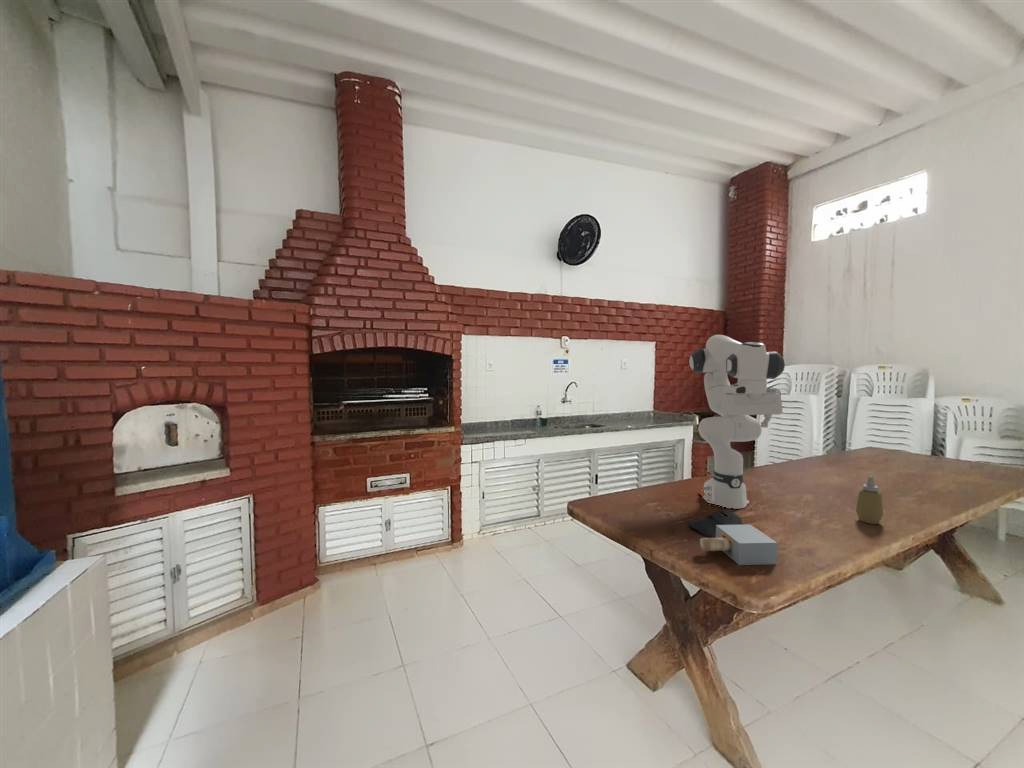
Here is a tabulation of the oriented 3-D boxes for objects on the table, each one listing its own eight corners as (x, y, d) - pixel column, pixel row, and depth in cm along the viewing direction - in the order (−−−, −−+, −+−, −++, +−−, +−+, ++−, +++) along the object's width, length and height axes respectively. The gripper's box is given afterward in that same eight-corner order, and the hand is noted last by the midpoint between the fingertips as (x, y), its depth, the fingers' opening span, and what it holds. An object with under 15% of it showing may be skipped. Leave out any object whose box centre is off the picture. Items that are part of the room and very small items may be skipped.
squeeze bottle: (850, 519, 162) (852, 475, 161) (862, 516, 165) (864, 472, 164) (875, 527, 154) (877, 480, 153) (887, 523, 157) (889, 478, 156)
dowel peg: (699, 547, 136) (700, 535, 136) (735, 546, 136) (735, 535, 136) (705, 553, 132) (706, 541, 132) (742, 552, 132) (742, 540, 132)
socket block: (715, 544, 141) (716, 525, 141) (749, 543, 142) (750, 524, 141) (738, 564, 127) (739, 543, 127) (776, 564, 128) (777, 542, 127)
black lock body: (679, 526, 158) (680, 514, 158) (717, 516, 168) (717, 504, 168) (714, 542, 144) (715, 529, 144) (753, 530, 154) (754, 517, 154)
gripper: (774, 387, 146) (774, 425, 146) (718, 388, 145) (718, 426, 145) (787, 388, 139) (786, 428, 140) (728, 389, 139) (728, 429, 139)
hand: (751, 427), depth 143 cm, fingers open, 8 cm apart
